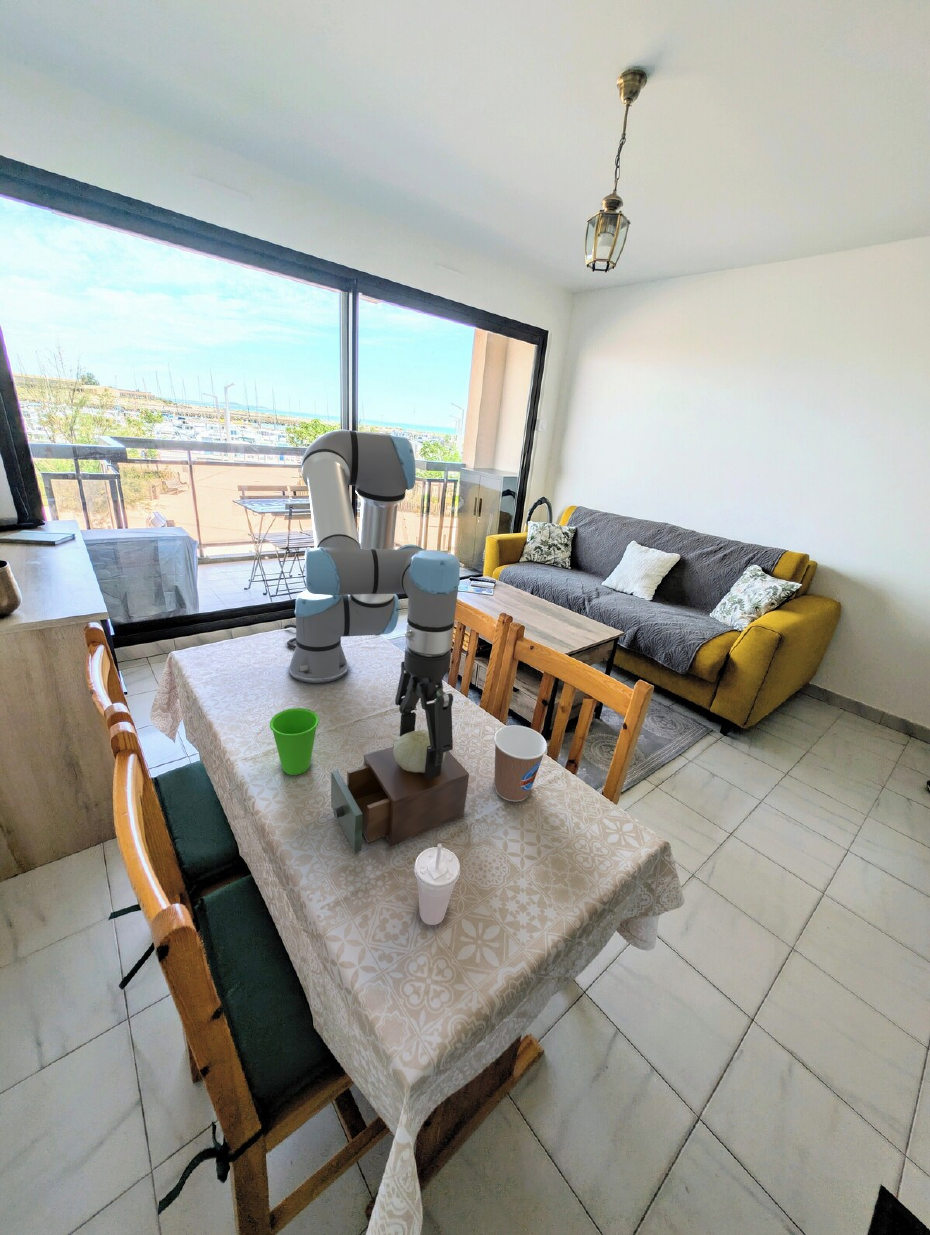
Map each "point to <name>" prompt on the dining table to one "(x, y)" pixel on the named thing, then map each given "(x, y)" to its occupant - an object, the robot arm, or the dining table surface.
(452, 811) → the cabinet
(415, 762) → the sea urchin shell
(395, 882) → the dining table surface
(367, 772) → the drawer
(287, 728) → the cup
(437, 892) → the smoothie
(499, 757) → the coffee cup
